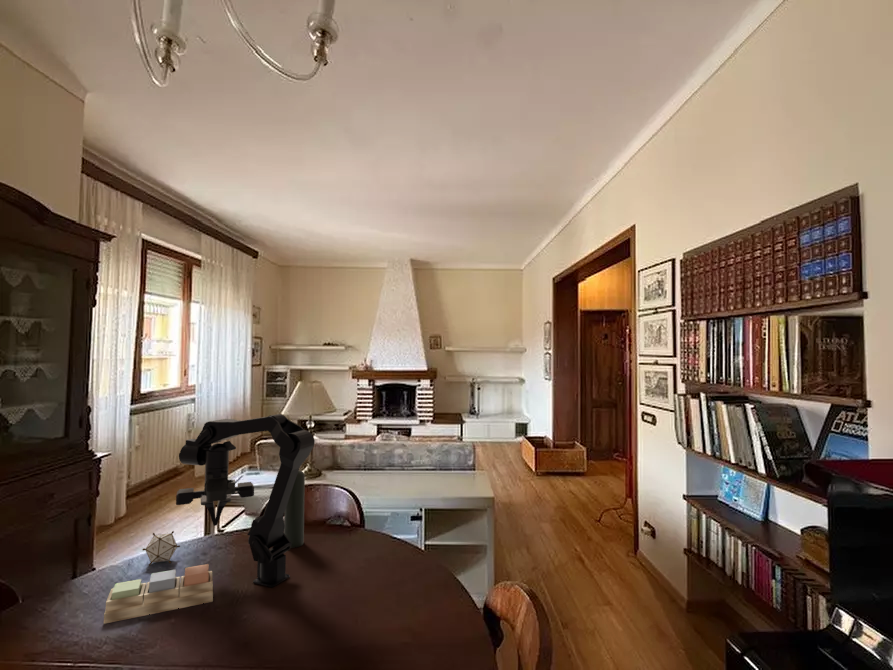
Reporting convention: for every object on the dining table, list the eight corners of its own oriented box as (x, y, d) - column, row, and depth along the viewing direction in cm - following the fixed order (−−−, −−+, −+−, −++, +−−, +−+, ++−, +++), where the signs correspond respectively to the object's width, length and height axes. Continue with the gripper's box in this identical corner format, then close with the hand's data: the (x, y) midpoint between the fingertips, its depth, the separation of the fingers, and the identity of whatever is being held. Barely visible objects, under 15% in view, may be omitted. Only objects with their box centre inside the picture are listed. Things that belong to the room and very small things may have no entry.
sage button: (140, 592, 111) (141, 578, 111) (138, 601, 107) (138, 588, 107) (115, 596, 109) (115, 583, 109) (111, 607, 105) (111, 593, 105)
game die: (162, 578, 131) (157, 557, 126) (138, 564, 133) (132, 543, 128) (188, 551, 139) (185, 531, 133) (165, 538, 140) (160, 518, 135)
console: (212, 585, 120) (212, 568, 120) (212, 601, 112) (213, 584, 112) (111, 604, 110) (111, 586, 110) (103, 623, 102) (104, 604, 102)
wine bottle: (284, 541, 148) (286, 444, 150) (304, 540, 150) (305, 443, 151) (283, 548, 143) (285, 447, 144) (303, 547, 144) (304, 446, 145)
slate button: (175, 582, 114) (175, 569, 115) (174, 591, 110) (174, 578, 110) (151, 586, 112) (151, 573, 112) (148, 596, 108) (149, 582, 108)
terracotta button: (208, 576, 118) (208, 563, 118) (208, 584, 113) (208, 572, 113) (185, 580, 115) (185, 567, 115) (184, 589, 111) (184, 576, 111)
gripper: (175, 477, 118) (173, 541, 117) (256, 469, 126) (255, 529, 125) (178, 467, 128) (176, 527, 127) (252, 461, 136) (251, 516, 135)
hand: (215, 525), depth 128 cm, fingers closed
